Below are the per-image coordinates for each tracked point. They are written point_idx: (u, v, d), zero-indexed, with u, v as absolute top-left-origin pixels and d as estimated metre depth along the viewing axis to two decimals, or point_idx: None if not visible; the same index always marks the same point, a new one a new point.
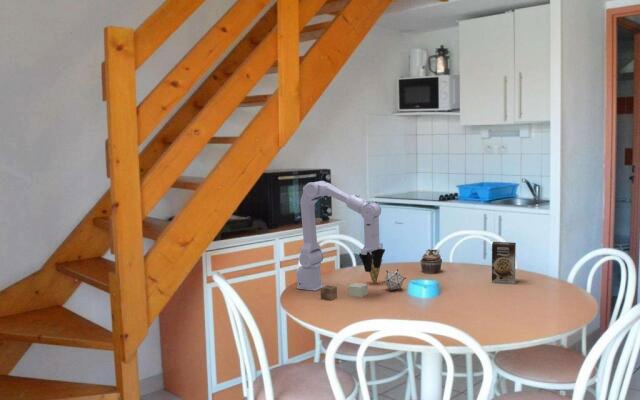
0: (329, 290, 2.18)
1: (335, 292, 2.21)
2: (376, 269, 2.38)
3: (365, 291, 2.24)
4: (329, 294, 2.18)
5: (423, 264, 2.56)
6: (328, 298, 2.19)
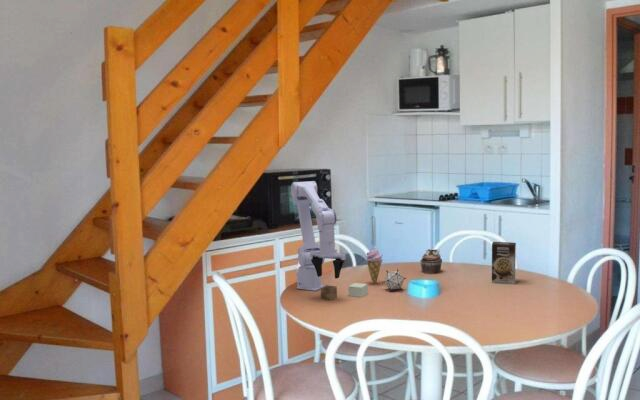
0: (329, 290, 2.18)
1: (335, 292, 2.21)
2: (376, 269, 2.38)
3: (365, 291, 2.24)
4: (329, 294, 2.18)
5: (423, 264, 2.56)
6: (328, 298, 2.19)
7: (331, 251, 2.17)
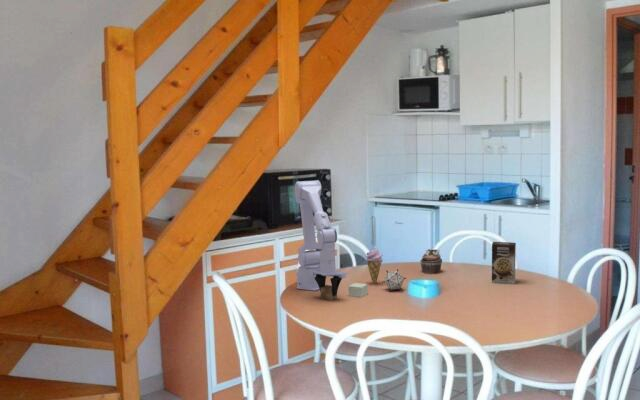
0: (329, 290, 2.18)
1: None
2: (376, 269, 2.38)
3: (365, 291, 2.24)
4: (329, 294, 2.18)
5: (423, 264, 2.56)
6: (328, 298, 2.19)
7: (332, 269, 2.18)
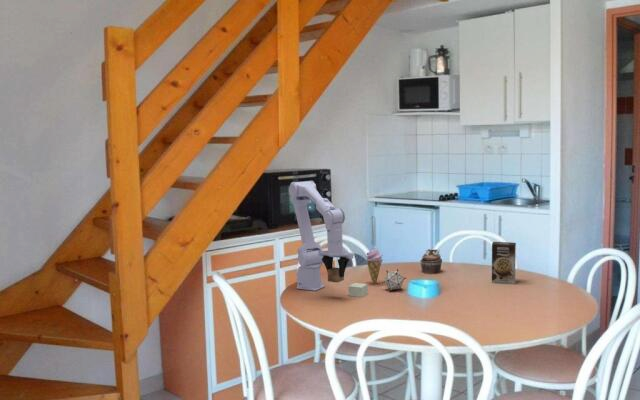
0: (336, 272, 2.18)
1: None
2: (376, 269, 2.38)
3: (365, 291, 2.24)
4: (336, 276, 2.19)
5: (423, 264, 2.56)
6: (335, 280, 2.19)
7: (339, 250, 2.18)
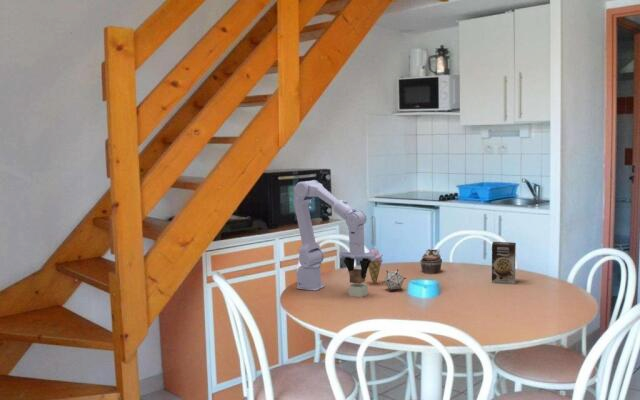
0: (358, 273, 2.21)
1: None
2: (376, 269, 2.38)
3: (365, 291, 2.24)
4: (358, 277, 2.21)
5: (423, 264, 2.56)
6: (357, 281, 2.22)
7: (361, 252, 2.21)
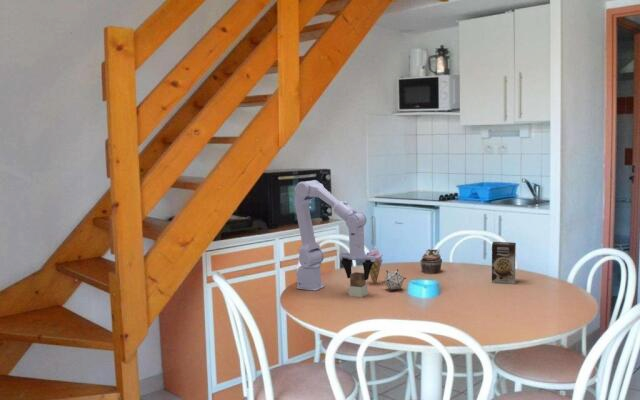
0: (359, 277, 2.21)
1: (364, 279, 2.24)
2: (376, 269, 2.38)
3: (365, 291, 2.24)
4: (359, 280, 2.22)
5: (423, 264, 2.56)
6: (358, 284, 2.22)
7: (361, 253, 2.21)
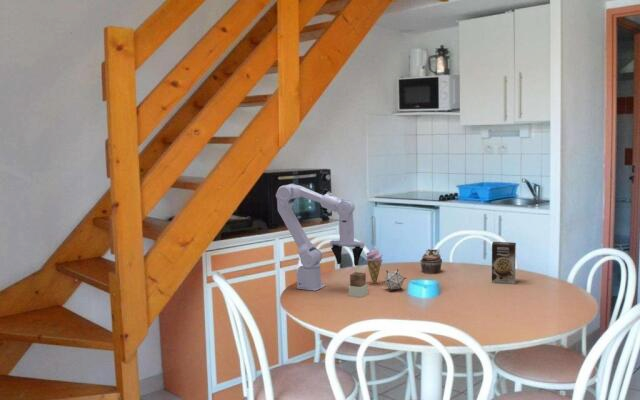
0: (358, 277, 2.22)
1: (364, 279, 2.24)
2: (376, 269, 2.38)
3: (365, 291, 2.24)
4: (358, 280, 2.22)
5: (423, 264, 2.56)
6: (357, 284, 2.22)
7: (351, 240, 2.28)
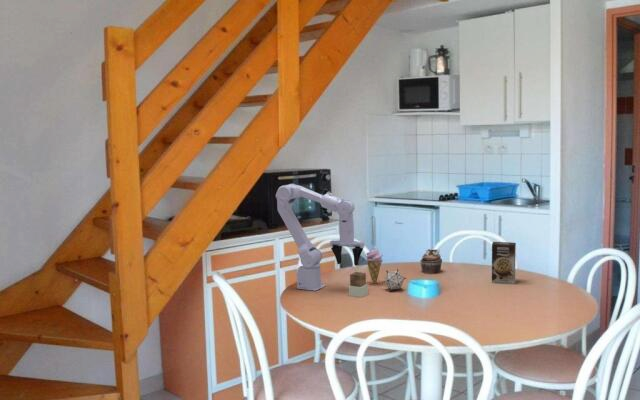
0: (358, 276, 2.22)
1: (364, 278, 2.24)
2: (376, 269, 2.38)
3: (365, 291, 2.24)
4: (358, 280, 2.22)
5: (423, 264, 2.56)
6: (357, 284, 2.22)
7: (351, 240, 2.28)
